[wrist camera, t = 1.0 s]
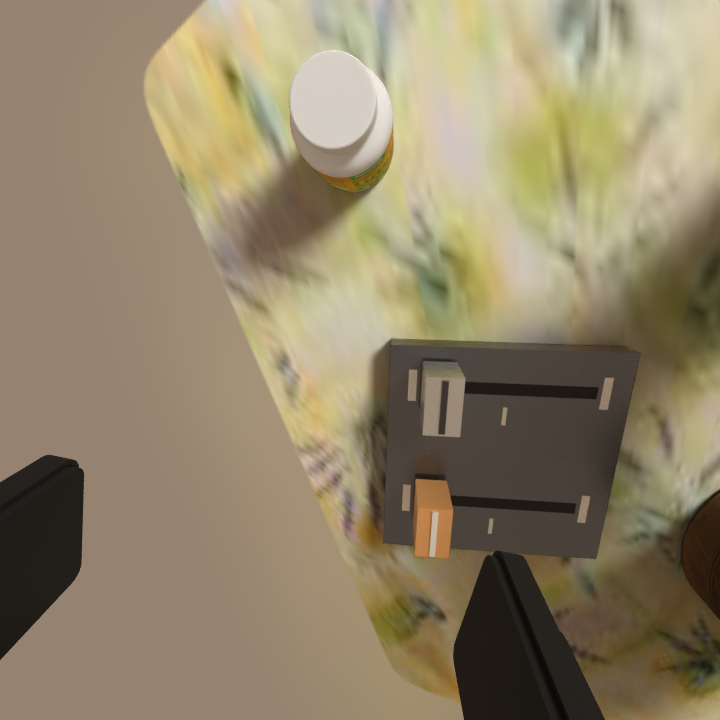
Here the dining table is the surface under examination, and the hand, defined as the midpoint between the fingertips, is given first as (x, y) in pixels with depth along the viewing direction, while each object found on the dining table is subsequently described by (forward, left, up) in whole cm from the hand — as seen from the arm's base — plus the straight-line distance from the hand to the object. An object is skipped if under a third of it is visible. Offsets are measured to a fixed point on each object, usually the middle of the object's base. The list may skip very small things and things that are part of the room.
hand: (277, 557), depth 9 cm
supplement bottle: (+1, -13, -23) cm, 26 cm away
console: (-11, +8, -23) cm, 26 cm away
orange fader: (-6, +12, -20) cm, 24 cm away
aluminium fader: (-6, +3, -20) cm, 21 cm away
